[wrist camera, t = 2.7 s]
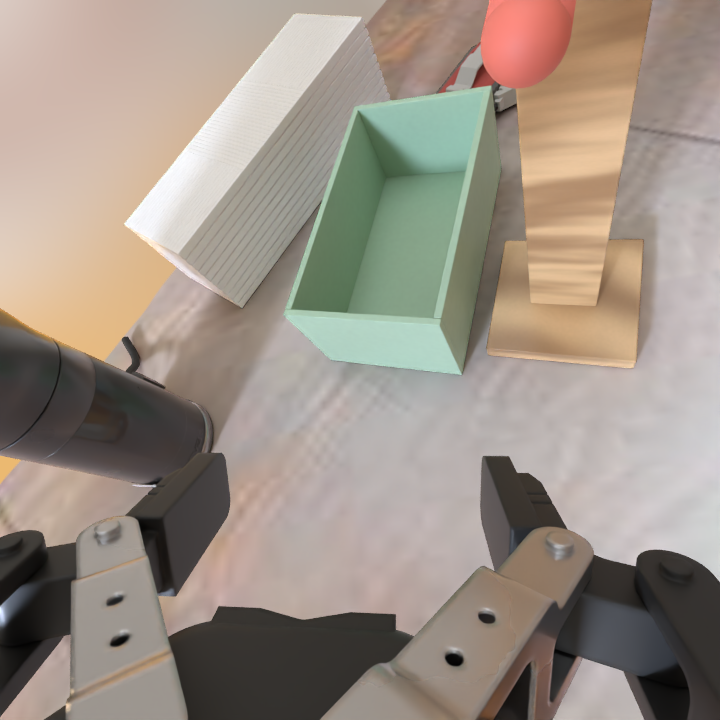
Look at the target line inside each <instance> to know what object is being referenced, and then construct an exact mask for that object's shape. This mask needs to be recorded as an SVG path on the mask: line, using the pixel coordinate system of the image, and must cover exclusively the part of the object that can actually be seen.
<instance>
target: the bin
mask: <svg viewBox="0 0 720 720" xmlns="http://www.w3.org/2000/svg"><path fill="white" fill-rule="evenodd" d="M500 174H501V160H500V152H499V144H498V135H497V127H496V118H495V110H494V101H493V93H492V86H484V87H478V88H471V89H465V90H458V91H452V92H445V93H439V94H432V95H425V96H419V97H412V98H406V99H399V100H393V101H386V102H380V103H373V104H367V105H360V106H354V109H353V112H352V115H351V118H350V121H349V123H348V126H347V129H346V132H345V135H344V138H343V141H342V144H341V147H340V150H339V153H338V156H337V159H336V162H335V165H334V167H333V170H332V173H331V176H330V179H329V182H328V185H327V188H326V191H325V194H324V197H323V200H322V203H321V206H320V209H319V211H318V214H317V217H316V220H315V223H314V226H313V229H312V232H311V235H310V238H309V241H308V244H307V247H306V250H305V252H304V255H303V258H302V261H301V264H300V267H299V270H298V273H297V276H296V279H295V282H294V285H293V288H292V291H291V294H290V296H289V299H288V302H287V305H286V309H285V311H284V314H283V315H284V316H285V317H286V318H287V319H288V320H289V321H290V322H291V323H292V324H293V325H294V326H295V327H297V328H298V329H299V330H300V331H301V332H302V333H303V334H304V335H305V336H306V337H307V338H308V339H309V340H310V341H311V342H312V343H313V344H314V345H316V346H317V347H318V348H319V349H320V350H321V351H322V352H323V353H324V354H325V355H326V356H327V357H328V358H329V359H330V360H334V361H343V362H352V363H361V364H369V365H378V366H387V367H396V368H405V369H413V370H422V371H431V372H440V373H449V374H457V375H462V372H463V367H464V362H465V357H466V351H467V346H468V341H469V336H470V331H471V325H472V320H473V315H474V310H475V304H476V299H477V294H478V289H479V283H480V278H481V273H482V268H483V263H484V257H485V252H486V247H487V242H488V236H489V231H490V226H491V221H492V215H493V210H494V205H495V200H496V195H497V189H498V184H499V179H500Z"/></svg>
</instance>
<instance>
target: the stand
mask: <svg viewBox="0 0 720 720" xmlns="http://www.w3.org/2000/svg"><path fill="white" fill-rule="evenodd" d="M651 5H652V0H576V5H575V12H574V19H573V26H572V32H571V38H570V42H569V45H568V48H567V51H566V53H565V55H564V57H563V59H562V60H561V62H560V63H559V65H558V66H557V67H556V69H555V70H554V71H553V72H552V73H551V74H550V75H549V76H547V77H546V78H545V79H544V80H542V81H541V82H539V83H537V84H535V85H533V86H530V87H526V88H518V89H516V97H517V112H518V127H519V141H520V156H521V170H522V185H523V199H524V214H525V229H526V241H505V245H504V251H503V256H502V262H501V268H500V273H499V279H498V285H497V290H496V296H495V302H494V307H493V313H492V319H491V324H490V330H489V336H488V341H487V347H486V349H487V352H488V355H492V356H503V357H513V358H524V359H535V360H546V361H556V362H567V363H578V364H589V365H599V366H610V367H621V368H634V365H635V363H636V360H637V343H638V327H639V310H640V294H641V277H642V261H643V244H644V240H643V239H622V240H609V234H610V229H611V224H612V218H613V213H614V207H615V202H616V196H617V191H618V185H619V180H620V174H621V169H622V163H623V158H624V152H625V147H626V142H627V136H628V131H629V125H630V120H631V114H632V109H633V103H634V98H635V92H636V87H637V81H638V76H639V71H640V65H641V60H642V54H643V49H644V43H645V38H646V32H647V27H648V21H649V16H650V10H651Z"/></svg>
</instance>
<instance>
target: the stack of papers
mask: <svg viewBox="0 0 720 720" xmlns="http://www.w3.org/2000/svg"><path fill="white" fill-rule="evenodd" d="M364 26H365V22H364V19H363V17H353V16H333V15H313V14H294V15H293V16H292V17H291V18H290V20H289V21H288V22H287V24H286V25H285V26H284V27H283V28H282V30H281V31H280V32H279V33H278V34H277V36H276V37H275V38H274V40H273V41H272V42H271V43H270V44H269V46H268V47H267V48H266V49H265V50H264V52H263V53H262V54H261V56H260V57H259V58H258V59H257V60H256V62H255V63H254V64H253V65H252V67H251V68H250V69H249V70H248V71H247V73H246V74H245V75H244V77H243V78H242V79H241V80H240V81H239V83H238V84H237V85H236V86H235V88H234V89H233V90H232V91H231V92H230V94H229V95H228V96H227V97H226V99H225V100H224V101H223V102H222V104H221V105H220V106H219V107H218V109H217V110H216V111H215V112H214V114H213V115H212V116H211V117H210V118H209V120H208V121H207V122H206V123H205V125H204V126H203V127H202V128H201V129H200V131H199V132H198V133H197V135H196V136H195V137H194V138H193V139H192V141H191V142H190V143H189V144H188V146H187V147H186V148H185V149H184V150H183V152H182V153H181V154H180V155H179V157H178V158H177V159H176V160H175V162H174V163H173V164H172V165H171V167H170V168H169V169H168V170H167V171H166V173H165V174H164V175H163V176H162V178H161V179H160V180H159V181H158V183H157V184H156V185H155V186H154V188H153V189H152V190H151V191H150V193H149V194H148V195H147V196H146V197H145V199H144V200H143V201H142V202H141V204H140V205H139V206H138V207H137V208H136V210H135V211H134V212H133V213H132V215H131V216H130V217H129V218H128V220H127V221H126V222H125V223H124V225H125V226H126V227H128V228H129V229H130V230H132V231H133V232H134V233H135V234H136V235H138V236H139V237H140V238H141V239H143V240H144V241H145V242H146V243H147V244H149V245H150V246H152V248H154V249H155V250H156V251H158V252H159V253H160V254H161V255H162V256H164V257H165V258H166V259H167V260H169V261H170V262H171V263H172V264H174V265H175V266H176V267H177V268H178V269H180V270H181V271H182V272H183V273H185V274H186V275H187V276H188V277H190V278H191V279H193V280H195V281H196V282H198V283H200V284H201V285H203V286H205V287H206V288H208V289H210V290H212V291H213V292H215V293H217V294H218V295H220V296H222V297H224V298H225V299H227V300H229V301H230V302H232V303H234V304H236V305H237V306H239V307H241V308H243V306H244V305H245V304H246V302H247V301H248V300H249V298H250V297H251V296H252V294H253V293H254V292H255V290H256V289H257V287H258V286H259V285H260V283H261V282H262V281H263V279H264V278H265V277H266V275H267V274H268V273H269V271H270V270H271V268H272V267H273V266H274V264H275V263H276V262H277V260H278V259H279V258H280V256H281V255H282V254H283V252H284V251H285V249H286V248H287V247H288V245H289V244H290V243H291V241H292V240H293V239H294V237H295V236H296V235H297V233H298V232H299V230H300V229H301V228H302V226H303V225H304V224H305V222H306V221H307V220H308V218H309V217H310V216H311V214H312V213H313V211H314V210H315V209H316V207H317V206H318V205H319V203H320V202H321V201H322V199H323V197H324V194H325V191H326V188H327V185H328V182H329V179H330V176H331V173H332V170H333V167H334V165H335V162H336V159H337V156H338V153H339V150H340V147H341V144H342V141H343V138H344V135H345V132H346V129H347V126H348V123H349V121H350V118H351V115H352V112H353V109H354V106H360V105H367V104H373V103H380V102H386V101H391V99H390V98H389V97H390V96H389V93H388V92H387V87H386V84H384V83H385V81H384V78H383V77H381V76H382V72H381V69H379V68H380V66H379V63H378V62H377V61H376V60H377V57H376V54H375V53H373V52H374V48H373V45H370V44H371V43H372V42H371V40H370V37H369V36H368V31H367V28H366V27H364Z"/></svg>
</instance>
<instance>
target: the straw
mask: <svg viewBox="0 0 720 720" xmlns="http://www.w3.org/2000/svg"><path fill="white" fill-rule="evenodd" d="M575 5H576V0H490V1H489V5H488V10H487V14H486V18H485V22H484V27H483V31H482V36H481V56H482V60H483V64H484V67H485V69H486V71H487V72H488V74H489V75H490V76H491V77H492V79H493V80H495V81H496V82H497V83H499V84H500V85H502V86H505V87H508V88H515V89H518V88H526V87H530V86H533V85H535V84H537V83H539V82H541V81H542V80H544V79H545V78H546V77H547V76H549V75H550V74H551V73H552V72H553V71H554V70H555V69H556V67H557V66H558V65H559V63H560V62H561V60H562V59H563V57H564V55H565V53H566V51H567V48H568V45H569V42H570V38H571V32H572V26H573V19H574V12H575Z"/></svg>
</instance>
